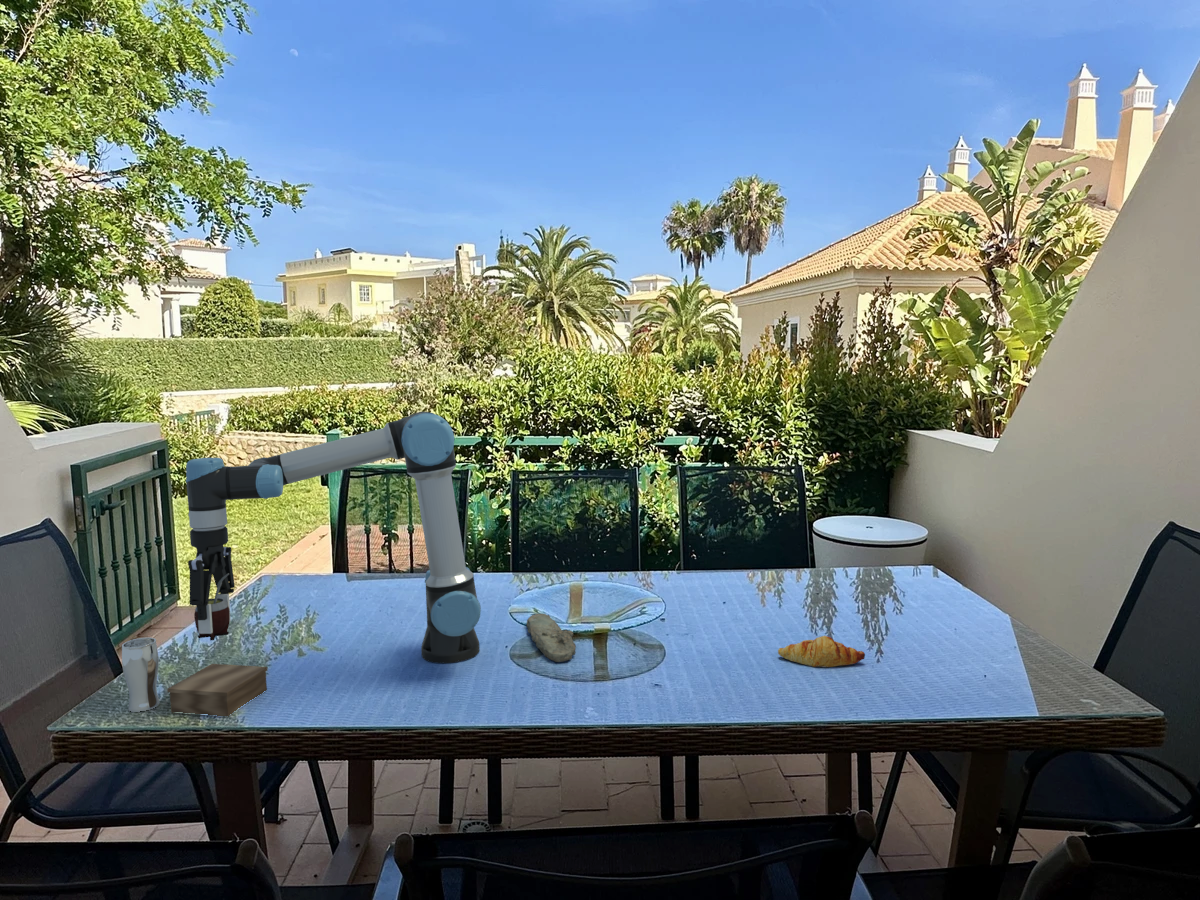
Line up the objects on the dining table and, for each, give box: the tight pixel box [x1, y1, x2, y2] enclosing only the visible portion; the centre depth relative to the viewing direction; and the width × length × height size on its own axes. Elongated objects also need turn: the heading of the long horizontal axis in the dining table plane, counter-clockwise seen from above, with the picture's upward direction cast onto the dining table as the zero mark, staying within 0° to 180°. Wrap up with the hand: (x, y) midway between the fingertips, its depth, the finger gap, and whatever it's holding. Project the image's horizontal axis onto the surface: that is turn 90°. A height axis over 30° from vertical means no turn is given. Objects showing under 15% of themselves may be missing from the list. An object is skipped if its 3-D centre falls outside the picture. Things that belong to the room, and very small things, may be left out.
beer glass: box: [121, 637, 161, 713], centre depth 171 cm, size 7×7×15 cm
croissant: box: [777, 635, 866, 668], centre depth 193 cm, size 21×10×8 cm, turn 78°
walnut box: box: [167, 663, 268, 717], centre depth 174 cm, size 15×15×6 cm
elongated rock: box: [526, 613, 577, 663], centre depth 210 cm, size 35×5×10 cm
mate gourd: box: [194, 573, 231, 641], centre depth 172 cm, size 8×8×15 cm
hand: (215, 627), depth 172 cm, fingers closed on mate gourd, 7 cm apart
